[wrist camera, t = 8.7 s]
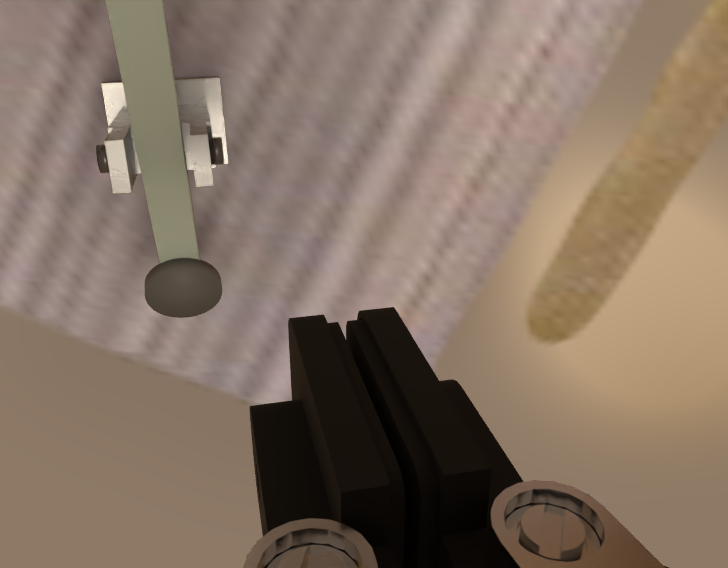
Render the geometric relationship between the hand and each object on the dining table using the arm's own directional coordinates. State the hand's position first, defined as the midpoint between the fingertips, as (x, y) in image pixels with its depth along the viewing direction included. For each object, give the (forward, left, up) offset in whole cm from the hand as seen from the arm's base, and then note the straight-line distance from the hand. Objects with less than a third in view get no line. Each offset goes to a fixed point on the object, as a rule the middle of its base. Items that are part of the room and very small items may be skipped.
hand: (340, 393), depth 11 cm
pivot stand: (-1, -3, -25) cm, 25 cm away
